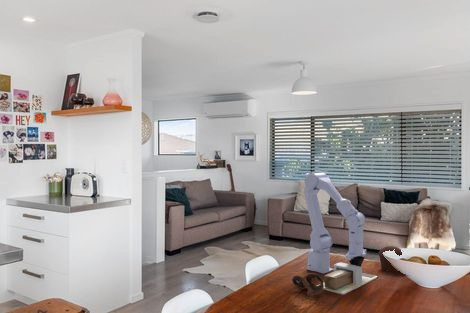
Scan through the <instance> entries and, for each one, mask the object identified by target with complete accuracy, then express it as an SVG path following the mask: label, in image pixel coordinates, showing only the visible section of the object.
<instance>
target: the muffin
mask: <svg viewBox="0 0 470 313" xmlns="http://www.w3.org/2000/svg"><path fill="white" fill-rule="evenodd" d="M394 249H395V250H394ZM389 250H390V251H393V250H394V251H395V253H396V254H397V255H399V256H400V255H402V252H401V250H402V249H401V248H400V247H398V246H394V245H393V246H390V245H389V246H384V247H382V248H381V249H380V250H379V252H378V256H379V260H380V268H381V269H382V270H384V271H386V270H388V271H387V272H391V271H397V270H396V269H395V268H394V267H393V266H392V265H391V263H390V262H389V261H388V260H387V259H386V258H385V257H384V256H383V254H382V253H383V252H385V251H389Z"/></svg>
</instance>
